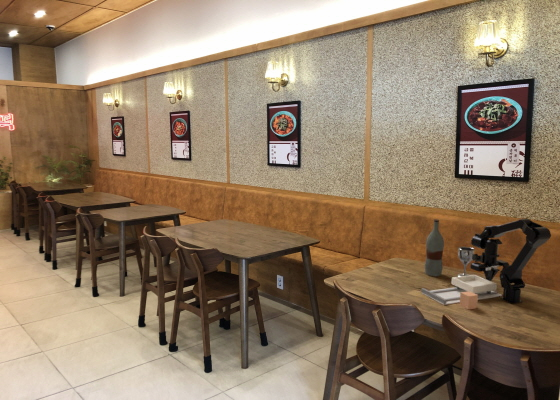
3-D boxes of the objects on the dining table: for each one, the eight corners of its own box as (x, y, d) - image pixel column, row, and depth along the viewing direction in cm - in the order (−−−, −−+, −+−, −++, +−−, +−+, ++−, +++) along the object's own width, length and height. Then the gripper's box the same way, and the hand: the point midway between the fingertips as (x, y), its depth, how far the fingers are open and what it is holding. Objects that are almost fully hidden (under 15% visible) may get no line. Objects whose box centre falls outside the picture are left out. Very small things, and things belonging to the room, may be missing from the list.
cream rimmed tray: (496, 293, 207) (496, 283, 206) (472, 297, 202) (473, 286, 201) (473, 284, 220) (474, 274, 219) (451, 287, 215) (451, 277, 214)
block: (476, 308, 193) (478, 295, 192) (467, 309, 191) (468, 296, 190) (468, 304, 197) (469, 291, 196) (459, 305, 195) (460, 292, 195)
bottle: (421, 271, 243) (424, 218, 239) (436, 270, 245) (439, 218, 240) (429, 277, 234) (433, 221, 230) (445, 276, 236) (449, 221, 231)
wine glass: (474, 278, 233) (477, 250, 230) (459, 278, 233) (461, 250, 231) (468, 273, 241) (470, 246, 238) (454, 273, 241) (456, 246, 238)
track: (502, 296, 207) (502, 291, 207) (443, 304, 196) (444, 300, 195) (476, 285, 222) (477, 280, 222) (420, 292, 210) (421, 288, 210)
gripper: (493, 246, 222) (490, 275, 224) (463, 248, 216) (461, 279, 218) (511, 251, 212) (508, 282, 214) (480, 254, 205) (477, 286, 208)
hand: (488, 282), depth 214 cm, fingers closed
